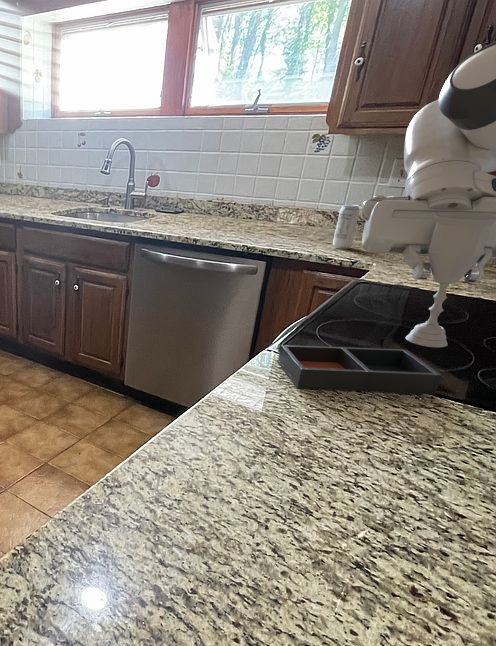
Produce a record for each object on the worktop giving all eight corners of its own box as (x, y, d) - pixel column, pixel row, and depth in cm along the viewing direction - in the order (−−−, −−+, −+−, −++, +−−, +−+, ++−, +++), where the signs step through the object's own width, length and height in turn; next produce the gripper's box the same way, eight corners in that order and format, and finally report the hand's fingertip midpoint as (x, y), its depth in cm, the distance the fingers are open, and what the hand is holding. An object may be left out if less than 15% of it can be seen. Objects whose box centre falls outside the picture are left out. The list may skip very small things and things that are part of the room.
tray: (400, 367, 96) (406, 349, 95) (435, 394, 86) (442, 375, 85) (277, 362, 99) (280, 344, 98) (297, 388, 89) (301, 369, 88)
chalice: (407, 329, 82) (443, 210, 74) (461, 341, 77) (505, 215, 70) (390, 340, 77) (426, 216, 70) (447, 354, 73) (491, 221, 65)
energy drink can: (354, 248, 189) (365, 205, 183) (340, 249, 188) (350, 206, 182) (341, 245, 195) (351, 203, 189) (328, 246, 194) (337, 204, 188)
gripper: (369, 182, 78) (370, 262, 73) (541, 184, 72) (554, 271, 67) (355, 209, 83) (355, 284, 79) (513, 212, 77) (522, 295, 73)
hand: (448, 278), depth 73 cm, fingers closed on chalice, 5 cm apart
